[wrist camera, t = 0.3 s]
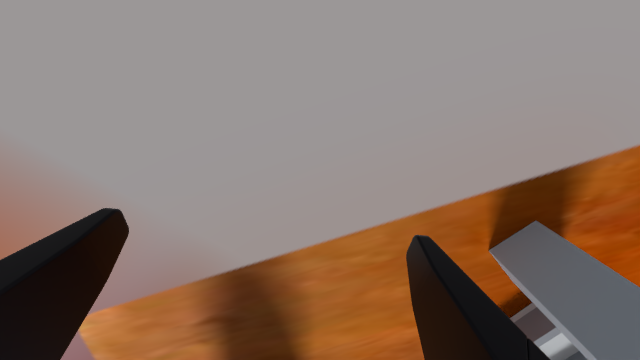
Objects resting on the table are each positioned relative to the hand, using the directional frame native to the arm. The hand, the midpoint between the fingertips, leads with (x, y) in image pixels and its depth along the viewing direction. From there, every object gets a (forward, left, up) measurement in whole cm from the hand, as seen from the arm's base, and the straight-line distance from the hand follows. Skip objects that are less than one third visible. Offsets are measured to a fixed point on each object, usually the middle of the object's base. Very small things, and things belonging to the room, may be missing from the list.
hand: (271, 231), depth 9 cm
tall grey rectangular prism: (+6, -24, -15) cm, 29 cm away
